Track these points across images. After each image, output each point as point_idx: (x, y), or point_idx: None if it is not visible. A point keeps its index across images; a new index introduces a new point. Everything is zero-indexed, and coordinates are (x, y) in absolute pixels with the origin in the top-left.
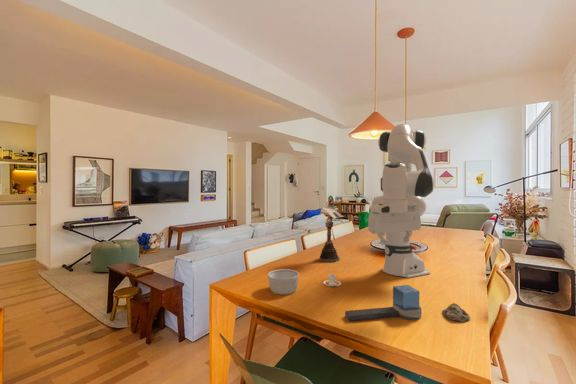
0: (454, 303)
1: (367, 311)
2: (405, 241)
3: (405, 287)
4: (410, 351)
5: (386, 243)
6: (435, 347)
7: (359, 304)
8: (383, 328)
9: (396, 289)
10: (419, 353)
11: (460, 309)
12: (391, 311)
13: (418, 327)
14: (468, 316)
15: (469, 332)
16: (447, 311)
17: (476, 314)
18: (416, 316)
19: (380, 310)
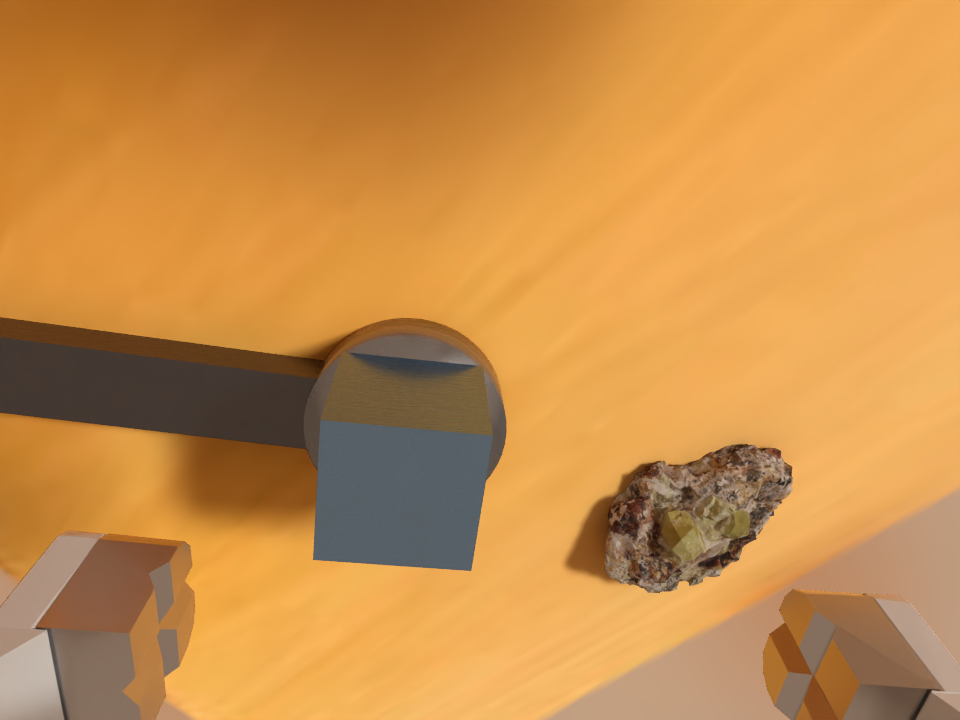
0: (780, 481)
1: (71, 384)
2: (775, 681)
3: (417, 478)
4: None
5: (173, 655)
6: (296, 691)
7: (121, 151)
8: (133, 508)
9: (319, 466)
10: (190, 703)
11: (754, 515)
12: (258, 434)
13: None
14: (712, 574)
15: (569, 649)
16: (630, 534)
17: (813, 536)
18: None
19: (184, 399)
